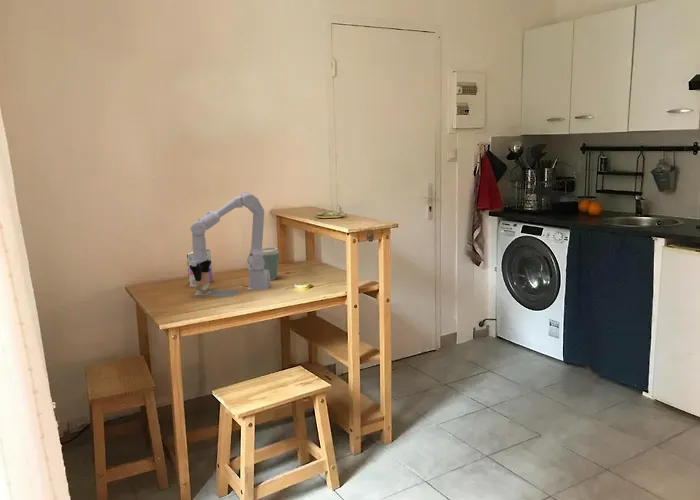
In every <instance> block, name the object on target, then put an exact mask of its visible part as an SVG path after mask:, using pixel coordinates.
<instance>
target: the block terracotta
mask: <svg viewBox="0 0 700 500" xmlns="http://www.w3.org/2000/svg"><path fill="white" fill-rule="evenodd" d="M195 281H196V280H195ZM207 283H209V284H210V282H209V272H201V281H196V284H207Z"/></svg>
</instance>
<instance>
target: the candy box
mask: <svg viewBox="0 0 700 500" xmlns="http://www.w3.org/2000/svg"><path fill="white" fill-rule="evenodd" d="M206 253H207V255H209V260H210V261H211V262H212V256H211V248H206ZM192 258H193V251H191V252H189V253H187V254H186V260H187V273H188V287H189V288H191V287H192V288H196V285H195V284H196V281H195V277H194V274H193V272H192V270H191V269H190V265H191V262H192V261H193V260H191V259H192ZM212 270H213V269H212V263H211V264H210V267H209V271H208V272H209V283H212V282H213V271H212Z"/></svg>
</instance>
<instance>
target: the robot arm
mask: <svg viewBox="0 0 700 500" xmlns="http://www.w3.org/2000/svg"><path fill="white" fill-rule="evenodd" d="M243 207H245V208H246V209H247V210H249V211H250V212H251V213H252V225H251V226H252V229H251V243H250V250H249V255H248V257H247V260H246V261H247V264H248V265H249V267H248V270H247V271H248V283H249V285H248V287H247V288H246V290H267V289H269V288H271V286H272V283H271V280H270V271H269V270H266V269H264V264H265V262H264V259H263V252H262V249H263V242H264V241H263V238H264V237H263V235H264V223H265V209H264V207H263V205H262V204H261V202H260V200H259V198H258V197H257V196H255V195H254V194H252V193H250V192H242V193H241V194H240V195H237V196H236V197H233V198H232V199H231V200H229V201H228V202H227V203H225V204H224V205H223V206H222V207H220V208H219V209H217V210H216V211H215V210H211V211H209V210H208V211H207V212H206V214H205V215H204V216H202V217H201V218H198V219H197V221H193V222H192V223H191V225H190V228H189V229H190V232H191V237H192V238H191V242H192V252H193V258H192V259H191V260H193V261H192V262H191V265H190V269H191V270H192V272H193V274H194V277H195V280H196V281H201V272H208V271H209V267H210V264H211V265H212V260H211V261H210V260H209V255H207V253H206V249H207V244H206V243H207V242H206V241H207V240H206V237H205V235H206V234H205V233H206V230H209V229H211V228H212V227H214V226H215V225H217V224H218V223H220V222H221V221H220V220H221V218H222V217H223V216H224V215H227V214H228V213H230V212H231V211H232V210H234V209H237V208H243Z"/></svg>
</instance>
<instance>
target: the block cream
mask: <svg viewBox="0 0 700 500" xmlns="http://www.w3.org/2000/svg"><path fill="white" fill-rule="evenodd" d="M195 285H196V287H195V294H207V293H209V292H210V290H211V289H210V282H209V283H207V284H195Z"/></svg>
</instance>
